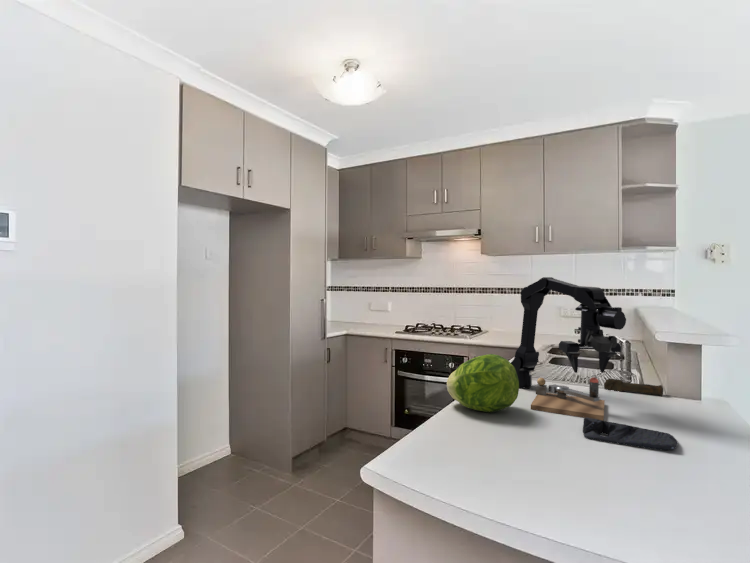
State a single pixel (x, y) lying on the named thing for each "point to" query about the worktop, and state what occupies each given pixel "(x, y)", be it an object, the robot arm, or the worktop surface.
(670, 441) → the dark slate chunk
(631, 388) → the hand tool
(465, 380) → the lettuce
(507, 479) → the worktop surface
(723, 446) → the worktop surface
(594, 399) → the lever
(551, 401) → the tan wooden panel
